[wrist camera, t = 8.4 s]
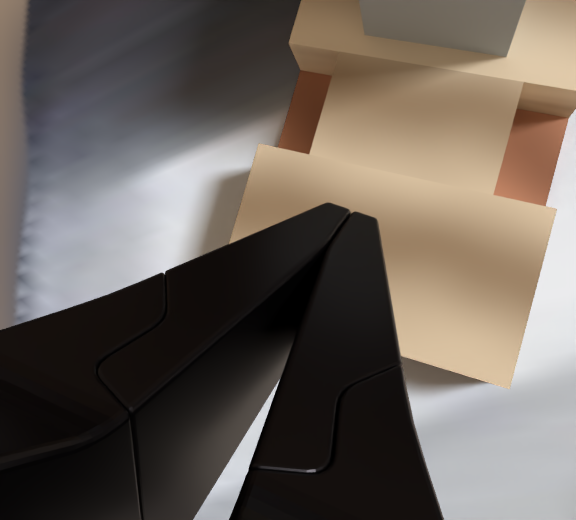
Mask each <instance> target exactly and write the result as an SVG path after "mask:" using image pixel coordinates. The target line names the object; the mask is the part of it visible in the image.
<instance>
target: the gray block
mask: <svg viewBox="0 0 576 520" xmlns="http://www.w3.org/2000/svg"><path fill="white" fill-rule="evenodd" d="M525 2H526V0H359V4H360V10H361V16H362V22H363V28H364V34H365V35H368V36H375V37H381V38H387V39H394V40H400V41H407V42H413V43H420V44H426V45H433V46H439V47H446V48H452V49H458V50H465V51H471V52H478V53H484V54H491V55H497V56H504V57H507V54H508V51H509V48H510V45H511V43H512V40H513V37H514V34H515V31H516V28H517V25H518V22H519V19H520V16H521V13H522V10H523V8H524V5H525Z"/></svg>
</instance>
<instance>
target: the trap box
mask: <svg viewBox="0 0 576 520" xmlns="http://www.w3.org/2000/svg"><path fill="white" fill-rule="evenodd" d="M289 45H290V47H291V50H292V52H293V54H294V57H295V59H296V61H297V63H298V66H299V68H300V74H299V77H298V80H297V84H296V87H295V90H294V94H293V97H292V101H291V104H290V107H289V111H288V114H287V118H286V121H285V124H284V128H283V131H282V134H281V138H280V141H279V145H278V148H277V147H273V146H268V145H264V144H258V147H257V151H256V154H255V157H254V161H253V164H252V167H251V171H250V174H249V178H248V181H247V184H246V188H245V191H244V194H243V198H242V201H241V204H240V208H239V211H238V214H237V218H236V221H235V225H234V228H233V231H232V235H231V238H230V241H229V244H230V243H232V242H235V241H237V240H239V239H242V238H244V237H246V236H249V235H251V234H253V233H256V232H258V231H260V230H263V229H265V228H268V227H270V226H272V225H275V224H277V223H279V222H282V221H284V220H286V219H289V218H291V217H293V216H296V215H298V214H300V213H303V212H305V211H307V210H310V209H312V208H314V207H317V206H319V205H321V204H324V203H327V202H330V203H333V204H336V205H339V206H342V207H345V208H348V209H350V211H351V213H352V212H355V211H356V212H360V213H363V214H366V215H369V216H372V217H375V218H376V219H377V220H378V223H379V229H380V235H381V241H382V246H383V252H384V258H385V264H386V270H387V276H388V282H389V288H390V294H391V300H392V306H393V312H394V318H395V324H396V330H397V335H398V341H399V347H400V353H401V356H403V357H406V358H410V359H413V360H416V361H419V362H423V363H426V364H429V365H432V366H436V367H439V368H442V369H445V370H449V371H452V372H455V373H459V374H462V375H465V376H468V377H472V378H475V379H478V380H481V381H485V382H488V383H491V384H494V385H498V386H501V387H504V388H508V389H510V385H511V382H512V378H513V374H514V370H515V366H516V363H517V359H518V355H519V351H520V347H521V344H522V340H523V336H524V332H525V328H526V325H527V321H528V317H529V313H530V309H531V306H532V302H533V298H534V294H535V290H536V287H537V283H538V279H539V275H540V271H541V268H542V264H543V260H544V256H545V252H546V249H547V245H548V241H549V237H550V233H551V230H552V226H553V222H554V218H555V214H556V211H557V209H555V208H551V207H546V202H547V198H548V194H549V191H550V187H551V183H552V179H553V176H554V172H555V168H556V164H557V160H558V157H559V153H560V149H561V145H562V142H563V138H564V134H565V130H566V126H567V123H568V119H569V117H570V116H571V114H572V113H573V112H574V110H575V109H576V0H526V2H525V5H524V8H523V10H522V13H521V16H520V19H519V22H518V25H517V28H516V31H515V34H514V37H513V40H512V43H511V45H510V48H509V51H508V54H507V57H504V56H497V55H491V54H484V53H478V52H471V51H465V50H458V49H452V48H446V47H439V46H433V45H426V44H420V43H413V42H407V41H400V40H394V39H387V38H381V37H375V36H368V35H365V34H364V28H363V22H362V16H361V10H360V4H359V0H301V3H300V6H299V10H298V13H297V16H296V20H295V23H294V26H293V30H292V33H291V37H290V40H289Z"/></svg>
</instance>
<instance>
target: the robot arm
mask: <svg viewBox="0 0 576 520" xmlns="http://www.w3.org/2000/svg"><path fill="white" fill-rule="evenodd" d="M280 377H281V378H280ZM279 379H280V381H279ZM278 381H279V384H278V387H277V390H276V392H275V395H274V398H273V401H272V404H271V407H270V409H269V412H268V415H267V418H266V421H265V423H264V426H263V429H262V432H261V435H260V438H259V440H258V443H257V446H256V449H255V452H254V455H253V457H252V460H251V463H250V466H249V470H248V473H247V475H246V477H245V480H244V483H243V486H242V488H241V491H240V494H239V496H238V499H237V501H236V504H235V506H234V509H233V511H232V514H231V516H230V518H229V520H444V518H443V515H442V512H441V509H440V506H439V503H438V500H437V497H436V494H435V490H434V487H433V484H432V481H431V478H430V475H429V472H428V469H427V466H426V463H425V459H424V456H423V452H422V449H421V446H420V442H419V439H418V435H417V432H416V428H415V425H414V421H413V416H412V411H411V407H410V402H409V397H408V392H407V387H406V381H405V375H404V370H403V368H402V359H401V353H400V347H399V341H398V335H397V330H396V324H395V318H394V312H393V306H392V300H391V294H390V288H389V282H388V276H387V270H386V264H385V258H384V252H383V246H382V241H381V235H380V229H379V223H378V220H377V219H376V218H375V217H372V216H369V215H366V214H363V213H360V212H356V211H355V212H352V213H351V211H350V209H348V208H345V207H342V206H339V205H336V204H333V203H330V202H327V203H324V204H321V205H319V206H317V207H314V208H312V209H310V210H307V211H305V212H303V213H300V214H298V215H296V216H293V217H291V218H289V219H286V220H284V221H282V222H279V223H277V224H275V225H272V226H270V227H268V228H265V229H263V230H260V231H258V232H256V233H253V234H251V235H249V236H246V237H244V238H242V239H239V240H237V241H235V242H232V243H230V244H228V245H225V246H223V247H221V248H218V249H216V250H214V251H211V252H209V253H207V254H204V255H202V256H200V257H197V258H195V259H193V260H190V261H188V262H186V263H183V264H181V265H179V266H176V267H174V268H172V269H169V270H167V271H166V272H165V274H164V273H159V274H157V275H155V276H152V277H150V278H148V279H145V280H143V281H141V282H138V283H136V284H133V285H131V286H128V287H126V288H123V289H120V290H118V291H115V292H113V293H110V294H108V295H105V296H102V297H99V298H97V299H94V300H91V301H88V302H85V303H82V304H79V305H76V306H73V307H70V308H68V309H64V310H61V311H58V312H55V313H52V314H49V315H46V316H43V317H40V318H37V319H33V320H30V321H27V322H24V323H21V324H18V325H15V326H12V327H9V328H6V329H2V330H0V520H193V519H194V517H195V516H196V514H197V512H198V511H199V509H200V507H201V506H202V504H203V503H204V501H205V499H206V498H207V496H208V494H209V493H210V491H211V490H212V488H213V486H214V485H215V483H216V481H217V480H218V478H219V477H220V475H221V473H222V472H223V470H224V468H225V467H226V465H227V464H228V462H229V460H230V459H231V457H232V455H233V454H234V452H235V451H236V449H237V447H238V446H239V444H240V442H241V441H242V439H243V438H244V436H245V434H246V433H247V431H248V429H249V428H250V426H251V425H252V423H253V421H254V420H255V418H256V416H257V415H258V413H259V412H260V410H261V408H262V407H263V405H264V403H265V402H266V400H267V399H268V397H269V395H270V394H271V392H272V390H273V389H274V387H275V386H276V384H277V382H278Z"/></svg>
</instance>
